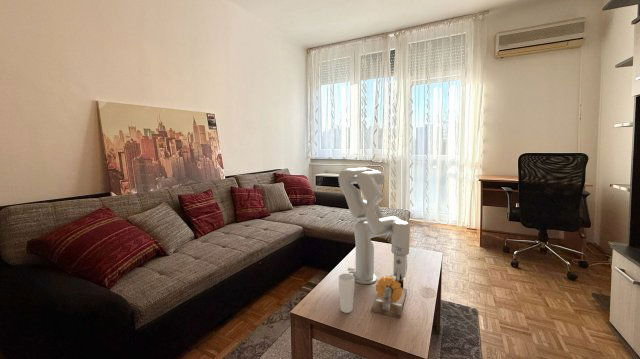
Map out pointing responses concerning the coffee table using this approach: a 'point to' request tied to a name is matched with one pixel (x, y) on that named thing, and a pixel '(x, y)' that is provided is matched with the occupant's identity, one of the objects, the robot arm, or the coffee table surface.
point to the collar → (393, 284)
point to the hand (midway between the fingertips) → (399, 288)
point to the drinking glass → (346, 292)
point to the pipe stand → (384, 304)
